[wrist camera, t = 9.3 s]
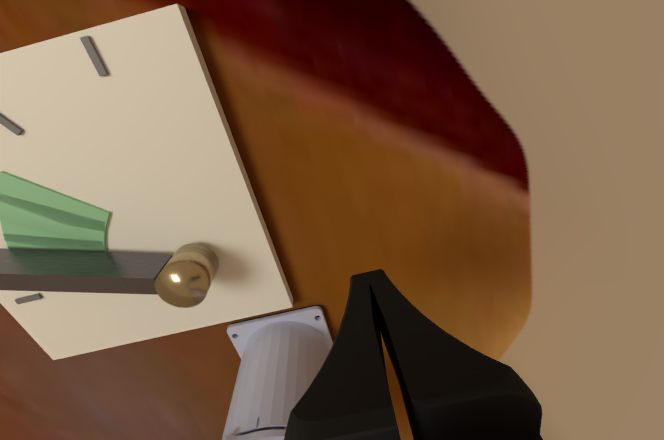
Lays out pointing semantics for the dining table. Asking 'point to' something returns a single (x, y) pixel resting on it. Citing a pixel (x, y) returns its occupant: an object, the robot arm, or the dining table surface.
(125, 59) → the dial plate
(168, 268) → the grey metal bar
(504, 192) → the dining table surface
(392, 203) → the dining table surface
